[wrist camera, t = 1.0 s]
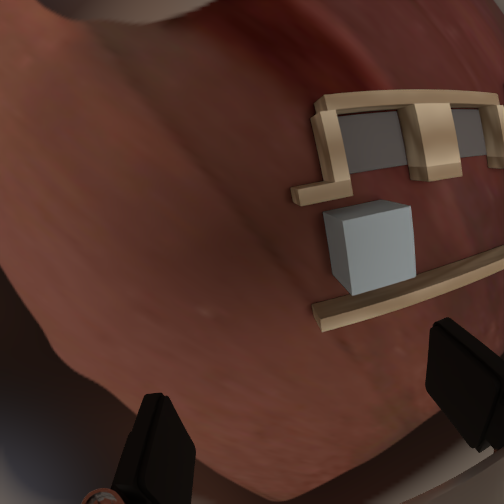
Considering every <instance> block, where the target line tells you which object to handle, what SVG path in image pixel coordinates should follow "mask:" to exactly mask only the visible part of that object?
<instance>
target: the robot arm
mask: <svg viewBox="0 0 504 504" xmlns="http://www.w3.org/2000/svg"><path fill="white" fill-rule="evenodd" d="M425 386H426V390H427V392H428V393H429V395H430V396H431V397H432V398H433V400H434V401H435V402H436V403H437V405H438V406H439V407H440V408H441V410H442V411H443V412H444V413H445V415H446V416H447V417H448V419H449V420H450V421H451V422H452V424H453V425H454V426H455V428H456V429H457V430H458V432H459V433H460V434H461V436H462V437H463V438H464V440H465V441H466V442H467V444H468V445H469V446H470V447H471V448H476V450H477V451H478V452H479V453H480V452H482V451H483V450H485V449H486V448H488V447H489V446H492V447H493V448H494V453H493V454H492V455H491V456H489V457H487V458H486V459H484V460H483V461H481V462H479V463H478V464H476V465H475V466H473V467H471V468H470V469H468V470H466V471H465V472H463V473H461V474H459V475H458V476H456V477H454V478H452V479H450V480H449V481H447V482H445V483H443V484H441V485H439V486H437V487H435V488H433V489H431V490H429V491H427V492H425V493H423V494H420V495H418V496H416V497H414V498H412V499H410V500H407V501H405V502H403V503H400V504H504V360H503V359H501V358H500V357H499V356H498V355H496V354H495V353H494V352H493V351H492V350H490V349H489V348H488V347H487V346H485V345H484V344H483V343H482V342H480V341H479V340H478V339H476V338H475V337H474V336H473V335H471V334H470V333H469V332H467V331H466V330H465V329H464V328H462V327H461V326H460V325H458V324H457V323H456V322H454V321H453V320H452V319H451V318H449V317H446V318H444V319H442V320H439V321H437V322H435V323H434V324H433V327H432V328H431V329H430V335H429V350H428V362H427V373H426V382H425ZM195 456H196V449H195V446H194V443H193V442H192V440H191V438H190V436H189V435H188V433H187V431H186V429H185V427H184V425H183V423H182V422H181V420H180V418H179V416H178V414H177V412H176V410H175V408H174V406H173V404H172V402H171V400H170V398H169V397H168V396H164V395H163V394H162V393H152V394H146V395H145V396H144V398H143V401H142V403H141V406H140V409H139V412H138V415H137V418H136V420H135V423H134V426H133V429H132V431H131V432H130V433H129V435H128V438H127V441H126V444H125V447H124V450H123V452H122V455H121V458H120V461H119V464H118V468H117V471H116V474H115V477H114V480H113V483H112V486H111V489H107V488H102V489H97V490H94V491H92V492H90V493H89V494H88V495H87V496H86V497H85V498H84V499H83V502H82V504H191V496H192V486H193V476H194V466H195Z"/></svg>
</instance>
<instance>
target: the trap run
mask: <svg viewBox="0 0 504 504" xmlns="http://www.w3.org/2000/svg"><path fill="white" fill-rule="evenodd" d="M314 106H315V110H316V115H314V116H313V117H311V118H310V120H311V124H312V128H313V133H314V137H315V142H316V146H317V151H318V156H319V160H320V165H321V170H322V175H323V180H324V181H321V182H316V183H311V184H306V185H301V186H296V187H291V188H290V189H291V194H292V199H293V203H295V204H297V205H299V206H305V205H310V204H315V203H320V202H324V201H329V200H334V199H339V198H344V197H349V196H353V192H352V186H351V180H350V175H349V169H348V164H347V159H346V154H345V149H344V144H343V140H342V135H341V131H340V126H339V122H338V118H337V115H339V114H348V113H357V112H368V111H379V110H393V109H397V111H398V116H399V120H400V125H401V129H402V134H403V139H404V144H405V150H406V155H407V161H408V167H409V174H410V180H418V181H428V182H430V181H435V180H441V179H447V178H453V177H459V176H462V168H461V161H460V154H459V148H458V142H457V136H456V131H455V126H454V121H453V116H452V112H451V108H478V110H479V114H480V119H481V124H482V129H483V134H484V140H485V147H486V153H487V161H488V168H499V169H504V107H503V105H500V103H499V99H498V95H497V94H496V93H486V92H474V91H458V90H423V89H415V90H379V91H362V92H349V93H338V94H328V95H323V96H322V97H321V98H320V99H319V100H317V101H316V102H315V103H314ZM503 269H504V245H502V246H499V247H496V248H494V249H491V250H488V251H486V252H483V253H480V254H477V255H474V256H472V257H469V258H466V259H463V260H460V261H457V262H454V263H451V264H448V265H445V266H442V267H439V268H436V269H433V270H430V271H427V272H424V273H421V274H418V275H416V277H414V278H411V279H408V280H405V281H401V282H398V283H395V284H392V285H388V286H385V287H382V288H378V289H375V290H371V291H368V292H364V293H361V294H357V295H354V296H352V295H351V294H349V295H346V296H342V297H338V298H334V299H330V300H327V301H323V302H319V303H315V304H312V310H313V316H314V318H315V320H316V322H317V324H318V326H319V327H320V329H321V331H322V332H324V331H328V330H332V329H335V328H339V327H343V326H346V325H350V324H353V323H357V322H360V321H363V320H367V319H370V318H373V317H376V316H380V315H383V314H386V313H389V312H392V311H395V310H398V309H401V308H404V307H407V306H410V305H413V304H416V303H419V302H422V301H425V300H427V299H430V298H433V297H436V296H438V295H441V294H444V293H447V292H449V291H452V290H454V289H457V288H460V287H462V286H465V285H467V284H470V283H472V282H475V281H477V280H479V279H482V278H484V277H487V276H489V275H491V274H494V273H496V272H498V271H501V270H503Z"/></svg>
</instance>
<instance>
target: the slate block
mask: <svg viewBox="0 0 504 504" xmlns="http://www.w3.org/2000/svg"><path fill="white" fill-rule="evenodd" d="M323 217H324V223H325V229H326V235H327V241H328V247H329V254H330V260H331V267H332V274H333V275H334V277H335V278H336V279H337V280H338V281H339V282H340V283H341V284H342V285H343V286H344V287H345V288H346V290H347V291H348V292H349V293H350V294H351V295H352V296H354V295H357V294H361V293H364V292H368V291H371V290H375V289H378V288H382V287H385V286H388V285H392V284H395V283H398V282H401V281H405V280H408V279H411V278H414V277H416V266H415V248H414V234H413V223H412V213H411V206H408V205H404V204H399V203H395V202H391V201H386V200H377V201H372V202H367V203H362V204H357V205H353V206H348V207H343V208H338V209H334V210H329V211H324V212H323Z"/></svg>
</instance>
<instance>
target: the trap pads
mask: <svg viewBox="0 0 504 504" xmlns="http://www.w3.org/2000/svg"><path fill="white" fill-rule="evenodd" d="M451 112H452V116H453V121H454V126H455V131H456V136H457V142H458V148H459V154H460V158H461V157H470V156H479V155H487V153H486V147H485V140H484V134H483V129H482V124H481V119H480V114H479V110H473V109H451ZM337 118H338V122H339V126H340V131H341V135H342V140H343V144H344V149H345V154H346V159H347V164H348V169H349V174H352V173H358V172H364V171H370V170H376V169H382V168H388V167H395V166H401V165H407V159H406V154H405V148H404V143H403V138H402V133H401V128H400V124H399V119H398V115H397V111H392V112H379V113H368V114H358V115H348V116H340V117H337Z"/></svg>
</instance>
